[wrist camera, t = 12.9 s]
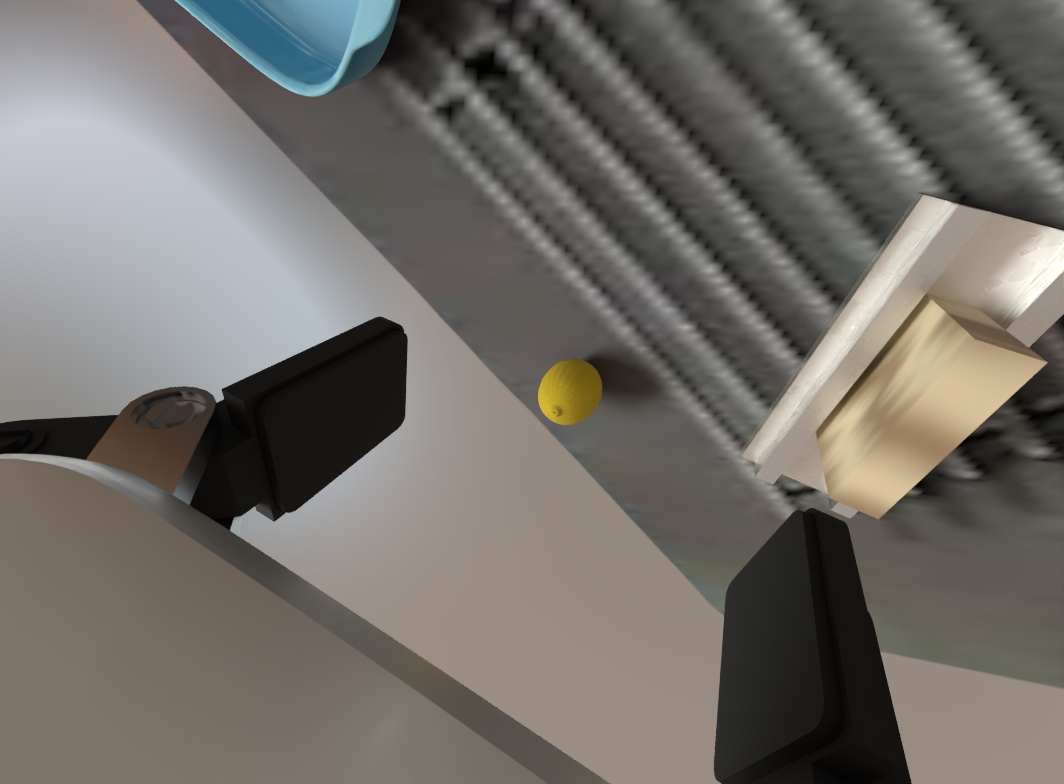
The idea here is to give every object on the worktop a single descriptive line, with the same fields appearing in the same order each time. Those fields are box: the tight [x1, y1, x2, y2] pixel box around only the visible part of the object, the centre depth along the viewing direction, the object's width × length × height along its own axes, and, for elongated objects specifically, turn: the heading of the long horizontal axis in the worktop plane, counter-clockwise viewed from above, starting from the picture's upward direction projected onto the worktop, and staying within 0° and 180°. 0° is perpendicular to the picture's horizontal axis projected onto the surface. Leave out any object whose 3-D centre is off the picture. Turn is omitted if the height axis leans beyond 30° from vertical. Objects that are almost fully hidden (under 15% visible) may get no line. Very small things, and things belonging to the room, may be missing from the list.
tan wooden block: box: [816, 294, 1048, 519], centre depth 27 cm, size 12×3×8 cm, turn 167°
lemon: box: [538, 359, 602, 425], centre depth 39 cm, size 6×6×8 cm
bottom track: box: [741, 193, 1064, 518], centre depth 30 cm, size 22×10×3 cm, turn 167°
